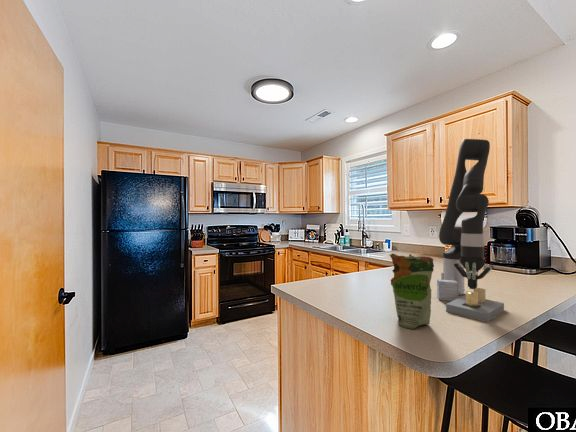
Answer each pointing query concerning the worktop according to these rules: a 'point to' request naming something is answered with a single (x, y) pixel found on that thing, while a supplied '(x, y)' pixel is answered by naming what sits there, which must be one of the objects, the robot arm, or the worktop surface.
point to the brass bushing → (472, 299)
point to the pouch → (412, 289)
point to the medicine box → (447, 290)
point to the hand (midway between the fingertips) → (472, 288)
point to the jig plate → (483, 313)
